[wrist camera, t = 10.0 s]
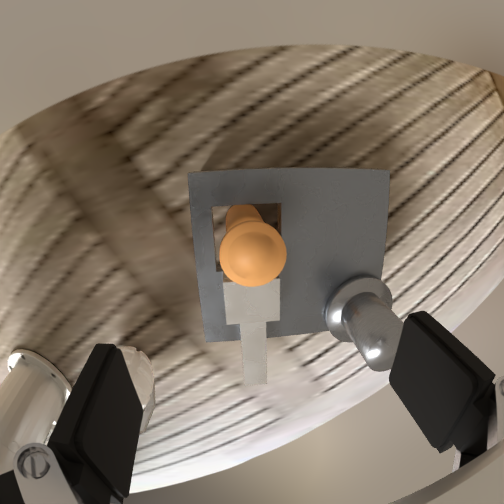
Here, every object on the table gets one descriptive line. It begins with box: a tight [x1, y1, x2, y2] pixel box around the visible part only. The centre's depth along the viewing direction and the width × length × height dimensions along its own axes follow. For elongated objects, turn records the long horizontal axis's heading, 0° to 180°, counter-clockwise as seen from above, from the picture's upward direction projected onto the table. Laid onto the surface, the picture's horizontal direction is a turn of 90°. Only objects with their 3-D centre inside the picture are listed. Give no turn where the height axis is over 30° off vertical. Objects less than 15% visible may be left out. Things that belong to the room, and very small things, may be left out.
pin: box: [219, 204, 287, 287], centre depth 23 cm, size 4×4×10 cm
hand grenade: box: [119, 346, 155, 434], centre depth 26 cm, size 8×6×13 cm
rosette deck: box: [188, 167, 404, 386], centre depth 23 cm, size 18×17×13 cm
